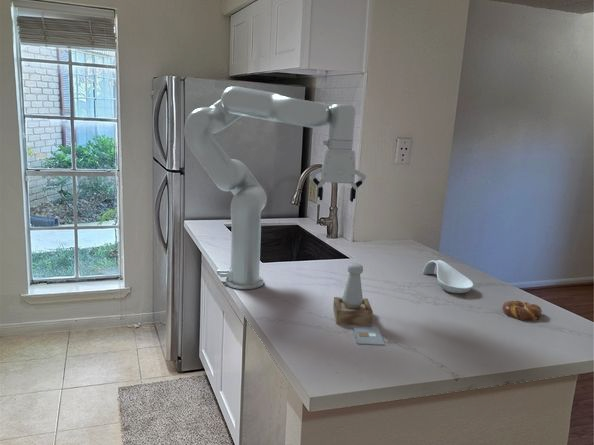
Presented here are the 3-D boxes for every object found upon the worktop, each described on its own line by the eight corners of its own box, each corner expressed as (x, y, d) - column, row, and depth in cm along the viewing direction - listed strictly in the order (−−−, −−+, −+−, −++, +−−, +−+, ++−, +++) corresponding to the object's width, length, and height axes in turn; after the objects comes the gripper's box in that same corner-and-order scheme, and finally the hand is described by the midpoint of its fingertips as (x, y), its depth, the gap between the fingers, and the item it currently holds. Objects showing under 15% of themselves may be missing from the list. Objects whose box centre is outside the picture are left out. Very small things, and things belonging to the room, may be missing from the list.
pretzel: (529, 308, 166) (531, 297, 165) (549, 322, 156) (552, 310, 155) (494, 307, 164) (496, 296, 163) (512, 322, 154) (514, 310, 153)
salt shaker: (340, 303, 152) (343, 260, 149) (359, 303, 153) (363, 261, 150) (343, 311, 146) (347, 267, 143) (363, 311, 147) (367, 267, 144)
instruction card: (357, 344, 134) (357, 342, 133) (352, 327, 143) (353, 326, 143) (384, 345, 134) (384, 343, 134) (378, 328, 143) (378, 327, 143)
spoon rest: (479, 296, 173) (482, 276, 172) (448, 298, 170) (451, 277, 168) (440, 273, 195) (442, 255, 194) (412, 274, 192) (414, 256, 190)
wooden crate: (336, 323, 145) (337, 310, 144) (333, 309, 155) (334, 296, 154) (371, 325, 145) (372, 311, 144) (366, 311, 155) (367, 298, 154)
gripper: (312, 144, 155) (309, 201, 159) (370, 148, 155) (365, 204, 159) (311, 142, 162) (308, 196, 166) (366, 145, 162) (361, 199, 166)
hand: (336, 200), depth 162 cm, fingers open, 9 cm apart
